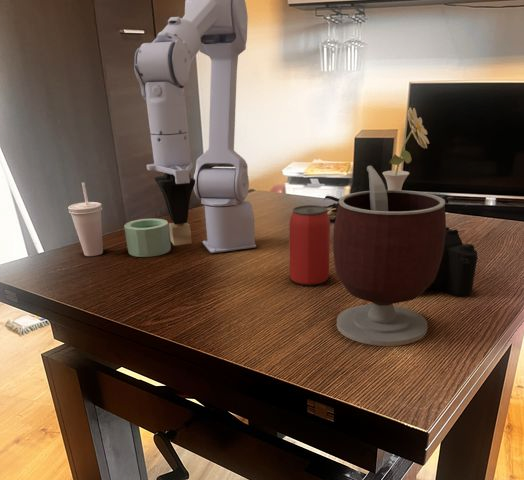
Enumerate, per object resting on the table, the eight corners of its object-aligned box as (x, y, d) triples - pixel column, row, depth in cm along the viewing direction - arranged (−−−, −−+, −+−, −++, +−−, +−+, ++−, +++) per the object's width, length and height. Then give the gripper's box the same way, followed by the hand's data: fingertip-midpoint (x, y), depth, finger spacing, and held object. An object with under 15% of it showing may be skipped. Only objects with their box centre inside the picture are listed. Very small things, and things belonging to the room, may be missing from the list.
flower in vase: (396, 255, 100) (409, 111, 89) (350, 244, 108) (356, 109, 96) (435, 241, 108) (451, 106, 96) (389, 231, 116) (399, 105, 104)
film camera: (372, 276, 91) (375, 224, 87) (418, 267, 94) (423, 216, 90) (431, 307, 78) (438, 247, 74) (481, 295, 82) (491, 238, 78)
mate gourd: (451, 343, 68) (475, 182, 59) (347, 353, 67) (355, 190, 57) (404, 298, 82) (418, 162, 72) (317, 306, 80) (319, 168, 71)
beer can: (302, 289, 87) (303, 215, 81) (282, 277, 92) (281, 207, 86) (336, 281, 89) (338, 209, 84) (315, 270, 94) (316, 202, 89)
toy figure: (306, 229, 120) (365, 218, 124) (303, 200, 118) (364, 190, 122) (294, 225, 127) (351, 215, 130) (292, 198, 124) (349, 189, 128)
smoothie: (100, 258, 105) (87, 185, 98) (71, 257, 106) (56, 185, 100) (115, 249, 110) (103, 179, 104) (86, 248, 112) (73, 179, 105)
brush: (188, 238, 90) (182, 184, 86) (191, 243, 88) (186, 187, 84) (170, 240, 90) (164, 186, 85) (174, 245, 87) (167, 189, 83)
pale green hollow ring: (167, 242, 113) (164, 216, 111) (174, 253, 106) (171, 226, 104) (126, 247, 111) (122, 221, 109) (130, 259, 104) (126, 231, 101)
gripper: (136, 130, 86) (148, 214, 92) (150, 139, 74) (162, 235, 80) (179, 127, 88) (188, 210, 94) (199, 135, 75) (207, 230, 82)
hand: (179, 221), depth 87 cm, fingers closed on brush
